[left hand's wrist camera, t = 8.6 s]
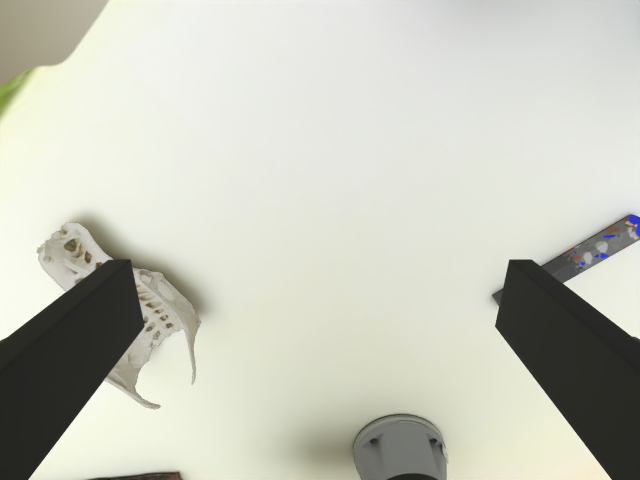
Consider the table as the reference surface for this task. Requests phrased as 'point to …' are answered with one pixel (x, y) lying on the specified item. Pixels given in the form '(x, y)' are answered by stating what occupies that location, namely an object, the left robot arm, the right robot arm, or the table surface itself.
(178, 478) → the plaque
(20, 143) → the table surface
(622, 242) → the pillar
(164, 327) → the anatomical model
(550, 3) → the table surface
